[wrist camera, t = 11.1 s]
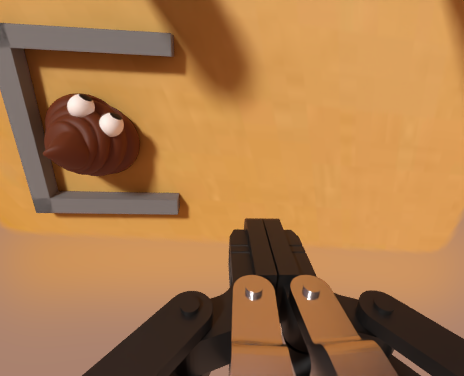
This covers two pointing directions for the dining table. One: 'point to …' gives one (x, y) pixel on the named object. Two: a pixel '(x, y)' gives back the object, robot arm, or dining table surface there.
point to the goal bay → (30, 126)
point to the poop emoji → (89, 136)
